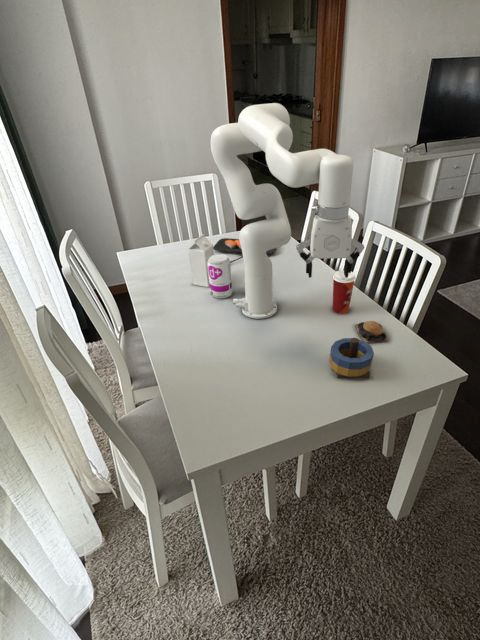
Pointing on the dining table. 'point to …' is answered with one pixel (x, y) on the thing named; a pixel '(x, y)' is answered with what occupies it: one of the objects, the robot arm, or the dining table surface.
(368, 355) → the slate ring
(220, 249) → the sushi plate
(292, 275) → the dining table surface
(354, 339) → the stand
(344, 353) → the brass ring
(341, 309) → the paper cup
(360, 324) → the bun on tray
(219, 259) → the supplement can
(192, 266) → the milk carton
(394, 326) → the dining table surface
